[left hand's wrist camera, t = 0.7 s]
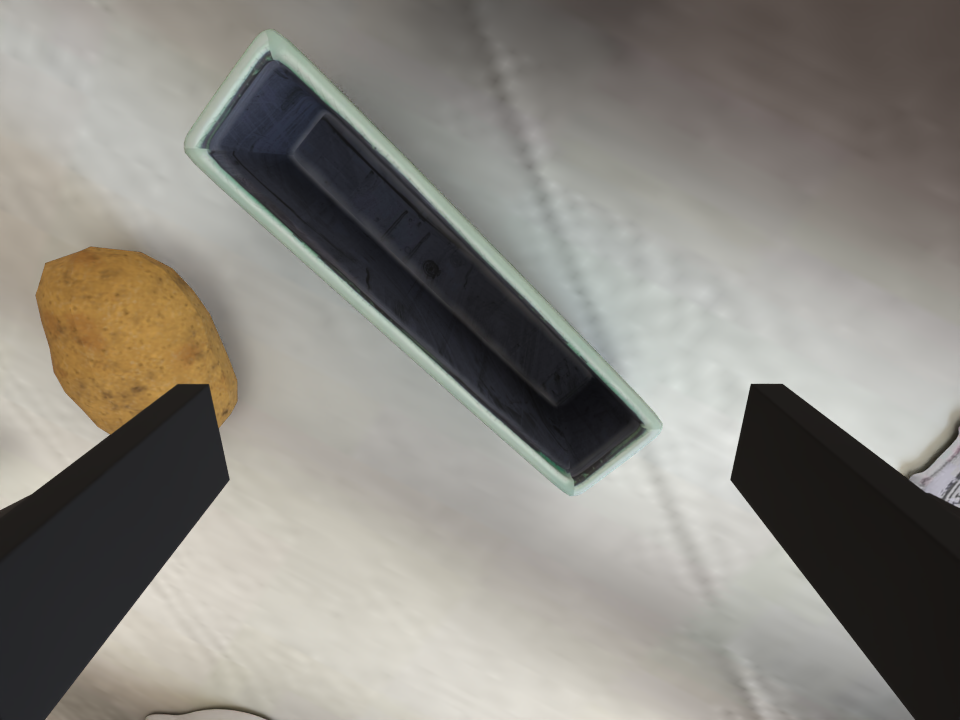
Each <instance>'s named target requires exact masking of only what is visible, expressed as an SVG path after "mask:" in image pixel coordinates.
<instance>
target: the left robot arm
mask: <svg viewBox="0 0 960 720" xmlns="http://www.w3.org/2000/svg"><path fill="white" fill-rule="evenodd" d="M229 480H230V479H229V475H228V470H227V465H226V461H225V456H224V451H223V447H222V442H221V437H220V433H219V428H218V423H217V418H216V414H215V409H214V404H213V400H212V395H211V390H210V386H209V384H177V385H175V386H174V387H173V388H171V389H170V390H169V391H167V392H166V393H165V394H164V395H162V396H161V397H160V398H158V399H157V400H156V401H154V402H153V403H152V404H150V405H149V406H148V407H146V408H145V409H144V410H142V411H141V412H140V413H138V414H137V415H136V416H134V417H133V418H132V419H131V420H129V421H128V422H127V423H125V424H124V425H123V426H121V427H120V428H119V429H117V430H116V431H115V432H113V433H112V434H111V435H109V436H108V437H107V438H105V439H104V440H103V441H101V442H100V443H99V444H98V445H96V446H95V447H94V448H92V449H91V450H90V451H88V452H87V453H86V454H84V455H83V456H82V457H80V458H79V459H78V460H76V461H75V462H74V463H72V464H71V465H70V466H68V467H67V468H66V469H65V470H63V471H62V472H61V473H59V474H58V475H57V476H55V477H54V478H53V479H51V480H50V481H49V482H47V483H46V484H45V485H43V486H42V487H41V488H39V489H38V490H37V491H35V492H34V493H33V494H32V495H29V496H27V497H25V498H23V499H21V500H20V501H18V502H16V503H14V504H12V505H10V506H8V507H6V508H4V509H2V510H0V720H45V719H46V718H47V716H48V715H49V714H50V712H51V711H52V710H53V708H54V707H55V706H56V705H57V703H58V702H59V701H60V699H61V698H62V697H63V695H64V694H65V693H66V692H67V690H68V689H69V688H70V686H71V685H72V684H73V682H74V681H75V680H76V679H77V677H78V676H79V675H80V673H81V672H82V671H83V670H84V668H85V667H86V666H87V664H88V663H89V662H90V660H91V659H92V658H93V657H94V655H95V654H96V653H97V651H98V650H99V649H100V647H101V646H102V645H103V644H104V642H105V641H106V640H107V638H108V637H109V636H110V634H111V633H112V632H113V631H114V629H115V628H116V627H117V625H118V624H119V623H120V621H121V620H122V619H123V618H124V616H125V615H126V614H127V612H128V611H129V610H130V608H131V607H132V606H133V605H134V603H135V602H136V601H137V599H138V598H139V597H140V595H141V594H142V593H143V592H144V590H145V589H146V588H147V586H148V585H149V584H150V583H151V581H152V580H153V579H154V577H155V576H156V575H157V573H158V572H159V571H160V570H161V568H162V567H163V566H164V564H165V563H166V562H167V560H168V559H169V558H170V557H171V555H172V554H173V553H174V551H175V550H176V549H177V547H178V546H179V545H180V544H181V542H182V541H183V540H184V538H185V537H186V536H187V534H188V533H189V532H190V531H191V529H192V528H193V527H194V525H195V524H196V523H197V521H198V520H199V519H200V518H201V516H202V515H203V514H204V512H205V511H206V510H207V509H208V507H209V506H210V505H211V503H212V502H213V501H214V499H215V498H216V497H217V496H218V494H219V493H220V492H221V490H222V489H223V488H224V486H225V485H226V484H227V483H228V481H229ZM730 480H731V481H732V483H733V484H734V485H735V486H736V488H737V489H738V490H739V492H740V493H741V494H742V496H743V497H744V498H745V499H746V501H747V502H748V503H749V505H750V506H751V507H752V509H753V510H754V511H755V512H756V514H757V515H758V516H759V518H760V519H761V520H762V521H763V523H764V524H765V525H766V527H767V528H768V529H769V531H770V532H771V533H772V534H773V536H774V537H775V538H776V540H777V541H778V542H779V544H780V545H781V546H782V547H783V549H784V550H785V551H786V553H787V554H788V555H789V557H790V558H791V559H792V560H793V562H794V563H795V564H796V566H797V567H798V568H799V570H800V571H801V572H802V573H803V575H804V576H805V577H806V579H807V580H808V581H809V583H810V584H811V585H812V586H813V588H814V589H815V590H816V592H817V593H818V594H819V596H820V597H821V598H822V599H823V601H824V602H825V603H826V605H827V606H828V607H829V608H830V610H831V611H832V612H833V614H834V615H835V616H836V618H837V619H838V620H839V621H840V623H841V624H842V625H843V627H844V628H845V629H846V631H847V632H848V633H849V634H850V636H851V637H852V638H853V640H854V641H855V642H856V644H857V645H858V646H859V647H860V649H861V650H862V651H863V653H864V654H865V655H866V657H867V658H868V659H869V660H870V662H871V663H872V664H873V666H874V667H875V668H876V670H877V671H878V672H879V673H880V675H881V676H882V677H883V679H884V680H885V681H886V682H887V684H888V685H889V686H890V688H891V689H892V690H893V692H894V693H895V694H896V695H897V697H898V698H899V699H900V701H901V702H902V703H903V705H904V706H905V707H906V708H907V710H908V711H909V712H910V714H911V715H912V716H913V718H914V719H915V720H960V508H959V507H957V506H955V505H953V504H951V503H949V502H947V501H945V500H943V499H941V498H939V497H937V496H935V495H933V494H931V493H926V492H925V491H923V490H922V489H921V488H919V487H918V486H917V485H915V484H914V483H913V482H911V481H910V480H909V479H907V478H906V477H905V476H903V475H902V474H901V473H899V472H898V471H897V470H895V469H894V468H893V467H892V466H890V465H889V464H888V463H886V462H885V461H884V460H882V459H881V458H880V457H878V456H877V455H876V454H874V453H873V452H872V451H870V450H869V449H868V448H866V447H865V446H864V445H862V444H861V443H860V442H859V441H857V440H856V439H855V438H853V437H852V436H851V435H849V434H848V433H847V432H845V431H844V430H843V429H841V428H840V427H839V426H837V425H836V424H835V423H833V422H832V421H831V420H829V419H828V418H827V417H826V416H824V415H823V414H822V413H820V412H819V411H818V410H816V409H815V408H814V407H812V406H811V405H810V404H808V403H807V402H806V401H804V400H803V399H802V398H800V397H799V396H798V395H796V394H795V393H794V392H793V391H791V390H790V389H789V388H787V387H786V386H785V385H783V384H751V386H750V390H749V395H748V400H747V404H746V409H745V414H744V418H743V423H742V428H741V433H740V437H739V442H738V447H737V451H736V456H735V461H734V465H733V470H732V475H731V479H730Z"/></svg>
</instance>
